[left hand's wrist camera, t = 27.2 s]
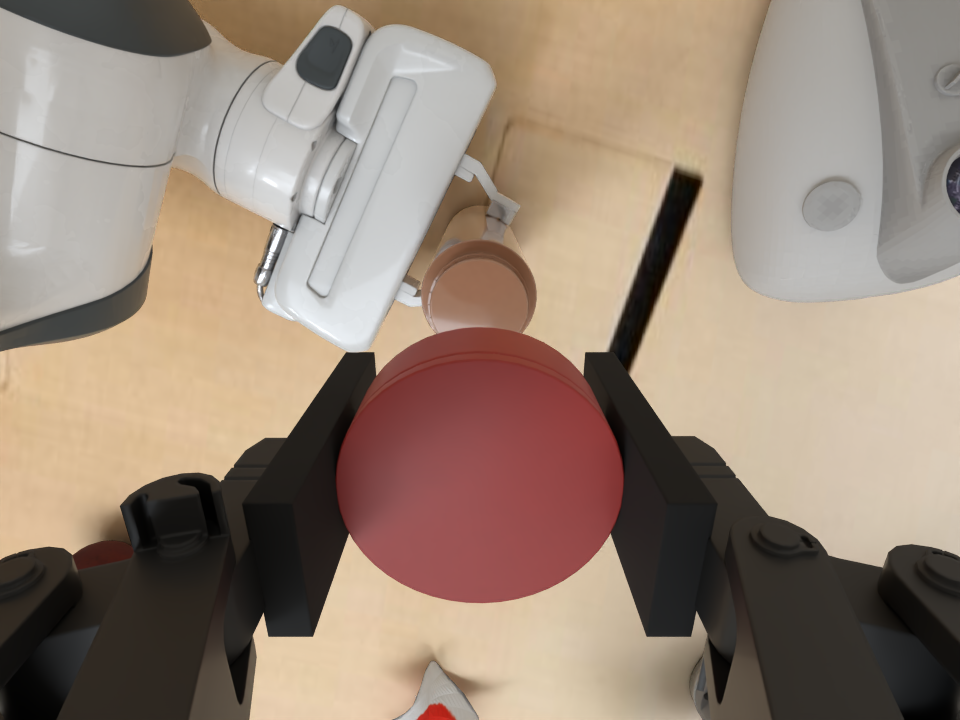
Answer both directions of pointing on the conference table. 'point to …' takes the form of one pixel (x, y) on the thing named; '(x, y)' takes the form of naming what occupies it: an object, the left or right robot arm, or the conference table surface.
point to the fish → (439, 699)
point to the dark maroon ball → (102, 554)
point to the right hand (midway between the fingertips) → (490, 260)
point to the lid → (479, 468)
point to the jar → (478, 277)
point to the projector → (850, 150)
